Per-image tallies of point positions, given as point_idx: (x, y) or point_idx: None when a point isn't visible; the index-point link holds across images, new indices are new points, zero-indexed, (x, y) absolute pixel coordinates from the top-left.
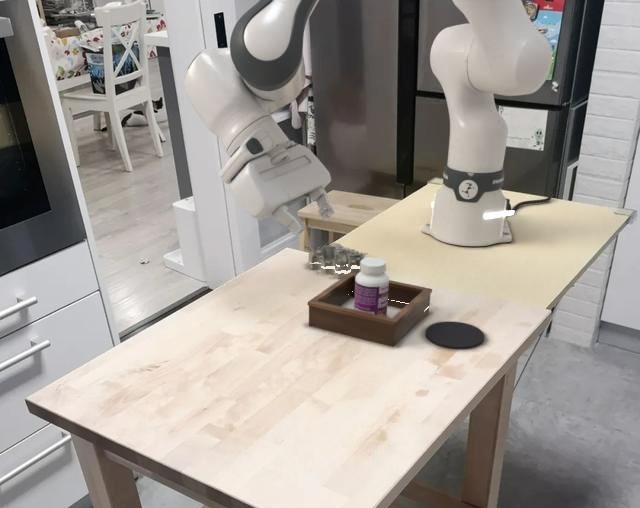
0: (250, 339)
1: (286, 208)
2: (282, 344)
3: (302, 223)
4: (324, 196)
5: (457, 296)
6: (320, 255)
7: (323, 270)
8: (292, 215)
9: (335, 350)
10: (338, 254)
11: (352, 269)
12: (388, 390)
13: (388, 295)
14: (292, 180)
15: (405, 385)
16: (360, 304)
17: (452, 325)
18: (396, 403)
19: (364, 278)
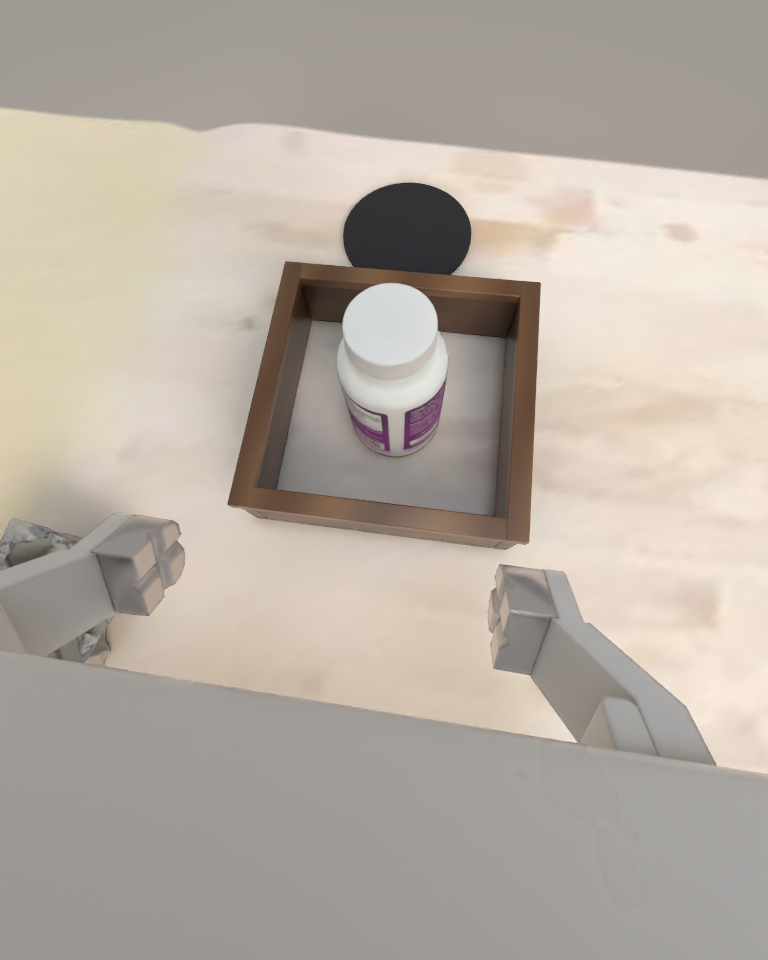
0: (667, 673)
1: (633, 717)
2: (645, 572)
3: (517, 580)
4: (17, 588)
5: (184, 276)
6: None
7: (101, 660)
8: (589, 648)
9: (602, 436)
10: None
11: None
12: (708, 284)
13: (286, 390)
14: (240, 932)
15: (670, 263)
16: (440, 408)
17: (367, 244)
18: (746, 259)
19: (437, 361)
